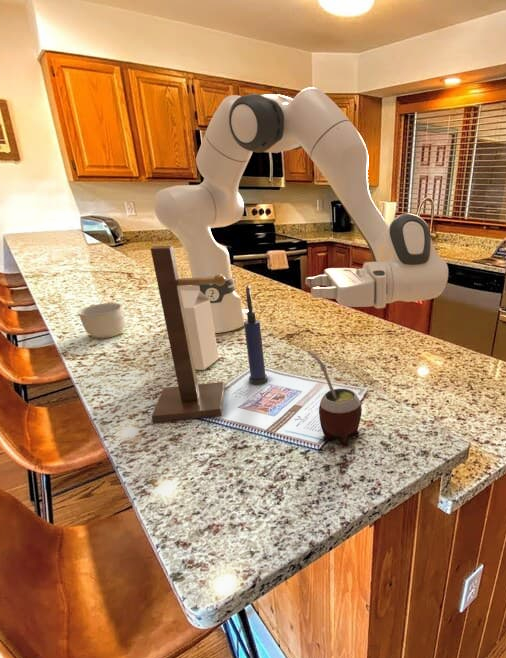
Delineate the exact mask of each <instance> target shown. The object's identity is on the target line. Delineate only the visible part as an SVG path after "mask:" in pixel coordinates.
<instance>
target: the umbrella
mask: <svg viewBox="0 0 506 658" xmlns="http://www.w3.org/2000/svg"><path fill="white" fill-rule="evenodd" d="M245 295H246V305H247V309H248V312H246V315H247V318H248V320H247V321H245V322H244V326H243V327H244V334H245V341H246V350H247V358H248V359H247V360H248V367H249V376H248V382H249V383H250V384H251V385H257V386H258V385H263V384H266V383H267V382H268V381H269V377H268V374H267V373H266V367H265V366H266V365H265V356H264V347H263V338H262V329H261V321H260V320H259V319H256V312H255V311H254V307H253V298H252V290H251V286H250V285H246V286H245Z"/></svg>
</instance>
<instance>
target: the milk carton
mask: <svg viewBox="0 0 506 658" xmlns="http://www.w3.org/2000/svg"><path fill="white" fill-rule="evenodd" d="M180 289H181V294H182V300H183V305H184V311H185V316H186V322H187V327H188V333H189V338H190V344H191V349H192V355H193V360H194V366H195V371H205V370H207V369H208V368H209V367H210V366H212V365H213V364H214V363H216V362H217V361H218V360H219V351H218V345H217V338H216V333H215V330H214V324H213V317H212V311H211V304H210V299H209V298H208V297H206V296H205V295H204V294H203V293H202V292H201V291H200V287H199V286H193V285H184V286H180Z"/></svg>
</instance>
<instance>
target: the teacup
mask: <svg viewBox="0 0 506 658" xmlns="http://www.w3.org/2000/svg"><path fill="white" fill-rule="evenodd" d="M77 315H78V316H79V318H80V322H81V325H82V326H83V328H84V331H85V332H86V334H87V335H89V336H92V337H94V338H97V339H108V338H112V337H115V336H118V335H120V334H121V333H122V332H123V330H124V329H125V327H126V318H125V314H124V310H123V305H122V303H117V302H105V303H98V304H95V303H93V304H90V305H89V306H87V307H84V308H81V309H80V310H79V311H78V312H77Z"/></svg>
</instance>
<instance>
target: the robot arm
mask: <svg viewBox="0 0 506 658" xmlns="http://www.w3.org/2000/svg"><path fill="white" fill-rule="evenodd" d="M300 149H303V150H304V151H305V153H306V154H307V156H308V157H309V158H310V160H311V161H312V162H313V164H314V165H315V167H316V168H317V169H318V170H319V172H320V173H321V175H322V176H323V177H324V178H325V180H326V182H327V184H328V185H329V187H330V188H331V189H332V191H333V192H334V194H335V196H336V197H337V198H338V200H339V202H340V203H341V205H342V207H343V208H344V210H345V212H346V213H347V215H348V216H349V218H350V220H351V221H352V222H353V224H354V226H355V227H356V229H357V230H358V232H359V233H360V235H361V236H362V238H363V239H364V242H365V243H366V245H367V246H368V249H369V252H370V257H371V259H372V261H364V263H363V265H362V268H353V267H330V268H325V269H324V270H323V274H318V275H315V276H307V277H306V278H305V285H306V287H308V288H310V294H311V297H312V298H314V299H316V298H318V299H319V298H323V299H329V300H333V299H334V300H336V302H337V303H338V305H340V306H342V307H350V308H352V307H354V308H359V307H360V308H367V307H374V309H385V308H386V306H387V304H392V303H395V302H399V301H400V302H405V303H412V302H421V301H422V302H423V301H428V300H432V299H436V298H438V297H439V296H440V295H441V294H442V293H443V292H444V291H445V290H446V288H447V284H448V282H449V273H450V272H449V271H450V270H449V266H448V264H447V262H446V261H445V260H444V259H443V258H442V257H441V256H440V255H439V253H438V251H437V249H436V247H435V245H434V242H433V239H432V234H431V230H430V227H429V225H428V224H427V222H426V221H425V220H424V219H423V218H422V217H420V216H419V215H417V214H413V213H402V214H399V215H397V216H395V218H394V219H393V220H392V221H391V222H390V223H389V224H388V223H387V222H386V220H385V218H384V217H383V216H382V213H381V212H380V211H379V209H378V207H377V206H376V204H375V203H374V201H373V199H372V197H371V193H370V190H369V182H368V181H369V179H368V177H369V175H368V173H369V172H368V170H369V153H368V149H367V146H366V143H365V142H364V139H363V138H362V136H361V134H360V133H359V131H358V130H357V128H356V127H355V126H354V124H353V123H352V121H351V120H350V119H349V117H348V116H347V115H346V114H345V112H344V111H343V110H342V109H341V108H340V107H339V106H338V105H337V104H336V102H334V100H332V98H331V97H329V96H328V95H327V94H326V93H325V92H324V91H322V90H321V89H319V88H316V87H307V88H304V89H303V90H301V91H299V92H298V93H297V94H296V95H295V96H294V97H292V96H285V95H281V94H275V93H271V94H258V93H249V94H246V95H245V94H244V95H243V96H241V95H237V94H231V95H227V96H226V97H225V98H223V100H222V101H221V102H220V104H219V105H218V107H217V109H216V110H215V112H214V114H213V116H212V117H211V119H210V121H209V124H208V125H207V128H206V131H205V132H204V136H203V139H202V140H201V144H200V146H199V148H198V151H197V155H196V157H195V163H196V167H197V169H198V172H199V173H200V175H201V176H202V177H203V180H202V182H201V183H199V184H188V185H187V184H186V185H185V184H183V185H181V184H180V185H179V184H178V185H173V186H168V187H165V188H163V189H160V190H158V191H157V193H156V194H155V196H154V200H153V209H154V213H155V216H156V218H157V220H158V222H160V224H161V225H162V226H163V227H164V228H165V229H167V230H169V231H170V232H171V233H173V234H174V236H175V237H176V238H177V239H178V240H179V242H180V243H181V245H182V247H183V249H184V251H185V254H186V257H187V262H188V265H189V271H190V276H191V278H203V277H215V276H216V275H218V274H220V275H223V276H224V277H225V283H224V285H222V286H218V285H216V284H203V285H193V286H199V287H200V291H201V292H202V293H203V294H204V295H205V296H206V297H208V298H209V299H210V304H211V311H212V317H213V324H214V330H215V334H220V333H221V334H222V333H228V332H231V331H235V330H238V329H241V328H242V327H244V322H245V321H247V320H248V318H247V312H248V308H247V309H245V308H244V307H243V303H242V297H240V295H239V294H237V293H236V283H235V279H234V277H233V274H232V267H231V266H232V265H231V259H230V253H229V251H228V249H227V248H226V247H225V246H224V245H223V244H220V243H218V242H217V241H216V240H215V238H214V236H213V234H212V231H211V229H215V228H224V227H228V226H230V225H233V224H235V223H237V222H239V221H241V219H242V218H243V216H244V212H245V203H244V199H243V197H242V195H241V194H240V192H239V185H240V181H241V179H242V177H243V175H244V173H245V170H246V168H247V166H248V164H249V162H250V159H251V157H252V155H253V153H259V154H260V153H270V154H271V153H273V154H275V153H282V152H287V151H297V150H300ZM320 286H321V287H320ZM325 286H326V287H325Z"/></svg>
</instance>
